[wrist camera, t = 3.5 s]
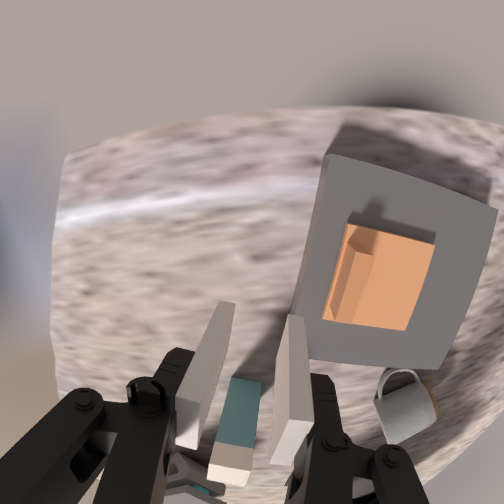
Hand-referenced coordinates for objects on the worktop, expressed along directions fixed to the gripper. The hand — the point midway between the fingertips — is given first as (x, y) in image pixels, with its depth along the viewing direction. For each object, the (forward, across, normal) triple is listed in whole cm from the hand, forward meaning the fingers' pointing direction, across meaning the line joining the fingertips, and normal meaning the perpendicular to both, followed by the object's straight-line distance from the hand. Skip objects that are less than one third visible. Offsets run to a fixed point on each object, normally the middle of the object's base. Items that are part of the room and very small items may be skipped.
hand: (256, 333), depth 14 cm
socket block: (+17, -14, 0) cm, 21 cm away
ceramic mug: (+17, -22, +17) cm, 32 cm away
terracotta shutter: (+12, -11, 0) cm, 16 cm away
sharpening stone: (+17, +8, +48) cm, 52 cm away
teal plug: (+17, 0, +20) cm, 26 cm away
